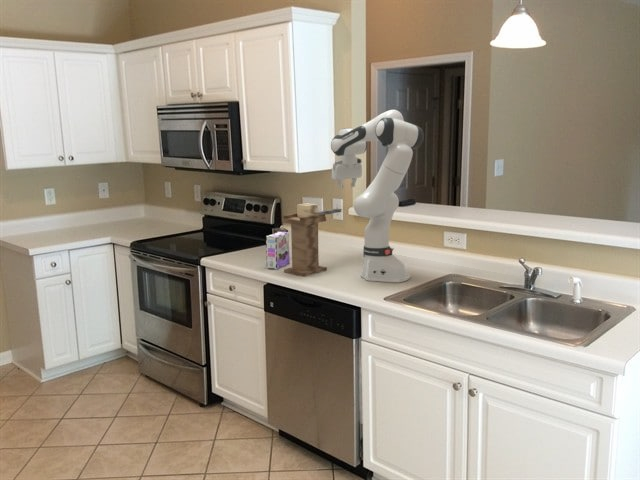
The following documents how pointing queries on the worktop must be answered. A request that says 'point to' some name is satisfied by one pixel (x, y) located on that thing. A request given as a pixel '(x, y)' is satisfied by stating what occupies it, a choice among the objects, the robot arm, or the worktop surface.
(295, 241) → the walnut stand
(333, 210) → the beech block
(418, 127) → the robot arm
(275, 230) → the coffee box
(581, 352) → the worktop surface
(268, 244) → the candy box
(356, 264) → the worktop surface
